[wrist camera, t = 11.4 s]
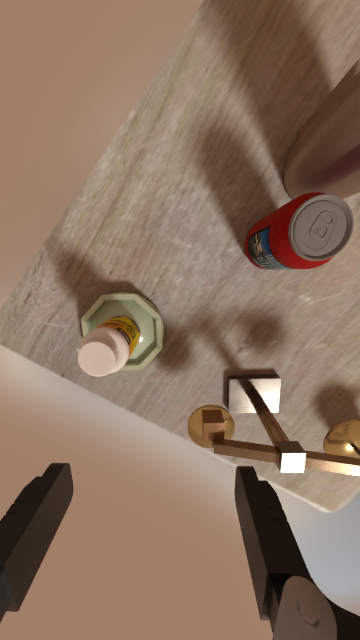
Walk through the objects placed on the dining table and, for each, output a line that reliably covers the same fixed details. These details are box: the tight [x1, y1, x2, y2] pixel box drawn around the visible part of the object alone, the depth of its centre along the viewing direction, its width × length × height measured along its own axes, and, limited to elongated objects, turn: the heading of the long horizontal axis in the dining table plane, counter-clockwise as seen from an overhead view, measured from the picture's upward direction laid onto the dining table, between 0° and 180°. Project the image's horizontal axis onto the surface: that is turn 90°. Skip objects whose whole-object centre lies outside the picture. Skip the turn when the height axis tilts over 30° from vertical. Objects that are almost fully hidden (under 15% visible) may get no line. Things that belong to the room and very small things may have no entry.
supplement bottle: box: [78, 315, 141, 377], centre depth 27 cm, size 6×6×10 cm
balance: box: [188, 375, 360, 476], centre depth 28 cm, size 22×6×15 cm, turn 92°
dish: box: [81, 292, 164, 371], centre depth 32 cm, size 12×12×2 cm
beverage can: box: [245, 192, 354, 269], centre depth 24 cm, size 7×7×12 cm
